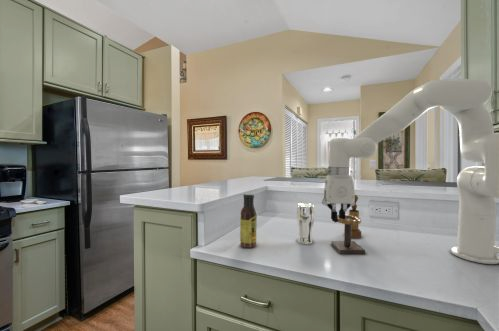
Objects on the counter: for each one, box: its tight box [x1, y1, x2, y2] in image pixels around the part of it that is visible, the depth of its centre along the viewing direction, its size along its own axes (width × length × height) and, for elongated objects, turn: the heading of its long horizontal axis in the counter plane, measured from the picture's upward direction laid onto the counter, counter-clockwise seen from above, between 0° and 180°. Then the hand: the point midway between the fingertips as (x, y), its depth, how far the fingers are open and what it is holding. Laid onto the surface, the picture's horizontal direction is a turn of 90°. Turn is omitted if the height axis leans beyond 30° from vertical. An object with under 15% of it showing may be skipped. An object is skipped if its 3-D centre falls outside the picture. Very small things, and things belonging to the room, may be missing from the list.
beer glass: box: [296, 203, 315, 245], centre depth 99 cm, size 7×7×15 cm
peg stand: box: [330, 218, 366, 255], centre depth 92 cm, size 9×9×12 cm
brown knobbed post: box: [348, 194, 362, 239], centre depth 107 cm, size 7×6×18 cm
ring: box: [336, 214, 362, 225], centre depth 91 cm, size 9×9×2 cm
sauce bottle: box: [239, 193, 258, 249], centre depth 94 cm, size 6×6×20 cm
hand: (337, 221), depth 91 cm, fingers closed on ring, 2 cm apart
